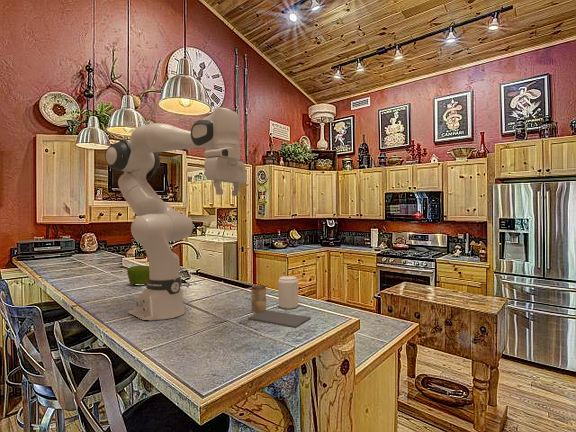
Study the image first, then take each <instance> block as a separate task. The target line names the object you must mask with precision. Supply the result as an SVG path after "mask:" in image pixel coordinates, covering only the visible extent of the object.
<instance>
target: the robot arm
mask: <svg viewBox="0 0 576 432" xmlns="http://www.w3.org/2000/svg"><path fill="white" fill-rule="evenodd" d="M240 132H241V130H240V118H239V115H238V112H237V111H236V110H234V109H233V108H229V107H226V106H225V107H224V106H218V107H215V108H214V109H213V111H212V113H211V114H209V115H207V116H206V117H204V118H202V119H197V120H196V121H195V122H194V123H193V124H192V126H191V129H190V130H186V129H183V128H180V127H178V126H175V125H171V124H167V123H163V122H162V123H161V122H160V123H159V122H156V123H155V122H153V123H148V124H144V125H140V126H138V127H136V128H135V129H133V130H132V132H131V134H130V139H129V140H128V141H127V140H126V139H125V138H123V139H119V141H118V142H114V143H112V144H110V145H109V146H108V147H107V148H106V151H105V153H104V160H105V163H106V165H107V166H108V167H109V168H110V169H113V170H115V171H119V172H120V171H122V172H123V173H122V174H121V175H120V176H119V178H118V181H117V185H118V189H119V190H120V193H121V195H122V197H123V198H124V200H125V201H126V203H127V204H128V205H129V207H130V208H131V210H132V211H133V212H134V214H135V215H136V217H135V218H134V220H133V221H132V222H131V225H130V231H131V236H132V238H133V239H134V240H135V241H136V242H138V243H139V244H140V245H141V246H142V248H143V249H144V251H145V253H146V255H147V260H148V266H149V277H150V278H149V279H148V280H145V281H148V282H145V283H147V285H146V286H145V289H144V290H143V291H142V292H141V293H140V294H139V295H138V296H136V298H135V300H134V301H135V302H134V308H132V309H130V310H129V311H127V314H128V313H130V314H132V315H135V316H136V317H138V318H137V319H139V318H140V319H139V320H141V319H142V321H143V320H149V321H155V320H156V321H157V320H160V321H161V320H167V319H168V320H169V319H172V318H173V319H174V318H177V317H180V316H182V315H184V314H185V313H186V306H185V305H184V297H183V295H184V294H183V289H182V288H181V286H182V277H181V276H180V275H181V270H180V269H181V267H180V257H179V255H178V254H177V253H176V252H173V251H172V249H171V247H170V244H169V242H178V241H183V240H184V239H186V238H189V237H190V236H191V235H192V233H193V231H194V224H193V221H192V219H191V218H190V217H189V216H188V215H185V214H183V213H181V212H180V211H177V210H176V209H174V208H173V207H172V206H170V205H169V204H168V203H167V202H165V201H164V200H163V199H162V198H161V197H160V196H159V195H158V193H157V192H156V191H155V190H154V188H153V187H152V186H151V184H150V183H148V179H150V178H152V177H153V175H154V174H156V172H157V171H158V170H159V168H160V165H161V158H160V156H159V153H164V152H166V153H167V152H172V151H173V152H174V151H180V150H189V149H190V150H191V149H207V150H205V151H204V152H203V155H204V158H205V160H204V169H203V170H204V177H205V179H206V180H207V181H212V182H213V183H212V184H213V186H214V188H215V195H218V196H219V195H220V196H221V195H224V193H223V192H224V190H223V189H222V187H221V184H222V183H228V184H229V183H230V184H232V186H233V190H231V196H232V197H238V196H239V190H240V187H241V185H242V184H243V185H245V184H246V183H247V168H246V165H245V164H244V162H243V160H242V158H241V149H240V148H241V147H240V146H241V144H240V142H239V141H240V140H239V138H240ZM130 314H129V315H130ZM132 315H131V316H132ZM136 317H135V318H136Z"/></svg>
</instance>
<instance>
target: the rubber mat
mask: <svg viewBox="0 0 576 432" xmlns="http://www.w3.org/2000/svg"><path fill="white" fill-rule="evenodd" d="M247 320H250V321H251V320H252V321H255V322H261V323H268V324H272V325H278V326H283V327H289V328H294V329H296V328H298V327H301V326H302V325H303V324H305V323H306V322H308V321H309V320H311V317H310V316H307V315H306V316H305V315H300V314H299V315H298V314H293V313H285V312H280V311H275V310H267V309H266V310H264V311H262V312H260V313H254V314H253V315H251V316H249V317H247Z"/></svg>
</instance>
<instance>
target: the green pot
mask: <svg viewBox="0 0 576 432" xmlns="http://www.w3.org/2000/svg"><path fill="white" fill-rule="evenodd" d="M126 274H127V277H128V282H129V284H131V285H133V284H147V283H145V282H148V281H145V280H148V279H149V278H150V277H149V265H134V266H130V267H129V268H128V269H127V272H126Z"/></svg>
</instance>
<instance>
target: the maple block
mask: <svg viewBox="0 0 576 432" xmlns="http://www.w3.org/2000/svg"><path fill="white" fill-rule="evenodd" d="M266 288H267V285H262V284H261V285H260V284H256V285H253V286H251V287H250V289H251V290H250V291H251V294H250V295H251V296H250V297H251V313H252V314H257V313H260V312H262V311H264V310H267V296H266V295H267V292H266V290H267V289H266Z"/></svg>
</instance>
